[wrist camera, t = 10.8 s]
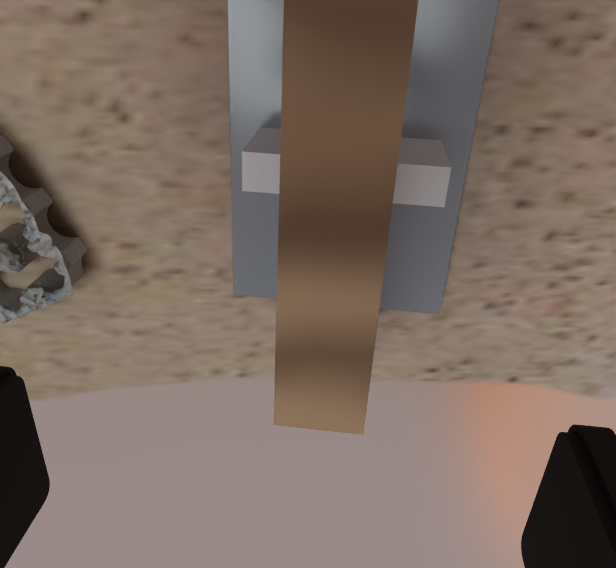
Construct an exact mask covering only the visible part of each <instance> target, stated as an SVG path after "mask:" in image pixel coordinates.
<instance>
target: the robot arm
mask: <svg viewBox="0 0 616 568" xmlns="http://www.w3.org/2000/svg"><path fill="white" fill-rule="evenodd" d="M49 486H50V482H49V476H48V473H47V469H46V465H45V461H44V457H43V453H42V450H41V446H40V442H39V438H38V434H37V430H36V426H35V423H34V419H33V415H32V411H31V407H30V403H29V399H28V395H27V391H26V388H25V384H24V381H23V379H22V378H21V377H19V376H17V375H16V373H15V371H14V370H13V369H12V368H10V367H4V366H0V568H4V567H5V565H6V564H7V562H8V561H9V559H10V557H11V556H12V554H13V552H14V551H15V549H16V547H17V546H18V544H19V543H20V541H21V539H22V538H23V536H24V534H25V533H26V531H27V530H28V528H29V526H30V525H31V523H32V522H33V520H34V518H35V517H36V515H37V513H38V512H39V510H40V509H41V507H42V505H43V504H44V502H45V500H46V498H47V495H48V492H49ZM521 550H522V557H523V562H524V566H525V568H616V435H615V434H614V432H613V430H611V429H610V428H603V427H594V426H584V425H572V426H571V427H570V428H569V430H568V432H567V433H566V432H560V433H559V434H558V436H557V438H556V441H555V444H554V447H553V449H552V452H551V455H550V458H549V461H548V464H547V467H546V469H545V472H544V475H543V478H542V481H541V483H540V486H539V489H538V492H537V495H536V498H535V501H534V503H533V506H532V509H531V512H530V515H529V517H528V520H527V523H526V526H525V529H524V532H523V535H522V541H521Z"/></svg>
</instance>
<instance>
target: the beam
mask: <svg viewBox="0 0 616 568" xmlns="http://www.w3.org/2000/svg"><path fill="white" fill-rule="evenodd" d="M417 8H418V0H284V14H283V56H282V99H281V141H280V184H279V226H278V268H277V311H276V353H275V398H274V400H275V401H274V425H280V426H290V427H298V428H307V429H316V430H326V431H335V432H345V433H354V434H362V435H363V431H364V424H365V417H366V409H367V408H366V407H367V401H368V393H369V385H370V377H371V369H372V362H373V354H374V346H375V338H376V330H377V322H378V314H379V307H380V299H381V291H382V283H383V275H384V267H385V259H386V252H387V244H388V236H389V228H390V220H391V212H392V205H393V197H394V189H395V181H396V173H397V165H398V157H399V150H400V142H401V134H402V126H403V118H404V110H405V102H406V95H407V87H408V79H409V71H410V63H411V55H412V48H413V40H414V32H415V24H416V16H417Z"/></svg>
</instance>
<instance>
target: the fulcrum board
mask: <svg viewBox="0 0 616 568" xmlns="http://www.w3.org/2000/svg"><path fill="white" fill-rule="evenodd" d="M498 1H499V0H418V8H417V16H416V24H415V32H414V40H413V48H412V55H411V63H410V71H409V79H408V87H407V95H406V102H405V110H404V118H403V126H402V134H401V142H400V150H399V157H398V165H397V173H396V181H395V189H394V197H393V205H392V212H391V220H390V228H389V236H388V244H387V252H386V259H385V267H384V275H383V283H382V291H381V299H380V307H379V308H382V309H393V310H403V311H414V312H425V313H436V314H440V309H441V303H442V298H443V293H444V288H445V282H446V277H447V272H448V266H449V261H450V256H451V250H452V245H453V240H454V235H455V229H456V224H457V219H458V213H459V208H460V203H461V197H462V192H463V187H464V182H465V176H466V171H467V166H468V160H469V155H470V150H471V144H472V139H473V134H474V129H475V123H476V118H477V113H478V107H479V102H480V97H481V91H482V86H483V81H484V76H485V70H486V65H487V60H488V54H489V49H490V44H491V38H492V33H493V28H494V23H495V17H496V12H497V7H498ZM283 14H284V0H228V33H229V83H230V132H231V182H232V232H233V281H234V295H243V296H254V297H264V298H275V299H277V268H278V226H279V184H280V141H281V99H282V56H283Z"/></svg>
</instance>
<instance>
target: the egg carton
mask: <svg viewBox="0 0 616 568" xmlns="http://www.w3.org/2000/svg"><path fill="white" fill-rule="evenodd" d="M14 151H15V150H14V149H13V147H12V145H11V144H10V142H9V141H8V140H7V139H6V137H5V136H4V135H0V209H1V208H2V207H3V205H4V203H7V204H10V203H14V202H17V201H18V202H19V203H20V206H21V211H22V212H23V214H24V215H25V216H24V219H23V221H24V222H25V224H26V225H23V224H14V225H11V226H10V227H8V228H7V229H5V230H4V231H2V232H1V233H0V273H1V272H2V271H3V272H7V273H16V272H19V271H21V270H22V269H23V268H24V267H25V266H26V265H28V264H29V263H30V262H31V261H32V260H34V259H35V258H36V257H37V256H38V255H40V256H43V258H49V257H50V258H56V263H55V264H54V266H55V269H50V270H47V271H45V272H44V273H43V274H42V275H41V276H40V277H39V278H38V279H37V280H36V281H34V282H33V283H32V284H31V285H30V286H29V287H27V288H26V289H24V290H22V289H18V288H11V289H9V288H8V287H7V286H6V285H5V284H4V283H3V282H2V281H1V279H0V322H2V324H4V323H6V322H8V321H9V320H11V319H13V318H16V317H22V316H24V315H26V314H28V313H30V312H32V311H35V310H38V309H41V308H43V307H46V306H49V305H51V304H53V303H56V302H57V301H59V300H61V299H64V298H67V297H68V296H70V295H72V294H73V291H72V285H73V284H74V283H75V282H76V281H78V279H79V278H80V277H81V276H82V275H83V274H84V270H83V267H82V257H83V255H84V254H85V253H86V252H87V251H88V249H87V247H86V246H85V244H84V243H83V242H82V240H81V239H80V238H79V237H65V236H62V235H60V234H58V233H57V232H55V231H54V230H53V228H52V227H51V226H50V224H49V222H48V220H47V211H48V208H49V206H50V205H51V204H52V203H53V201H52V200H51V198H50V197H49V195H48V194H47V193H46V191H45V190H44V189H43V188H28V187H26V186H23V185H22V184H20V183H19V182H18V181H16V179H15V178H14V177H13V176H12V174H11V171H10V169H9V158H10V155H11V154H12V153H13V152H14ZM27 213H29V214H31V217H30V218H27V217H26V214H27Z"/></svg>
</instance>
